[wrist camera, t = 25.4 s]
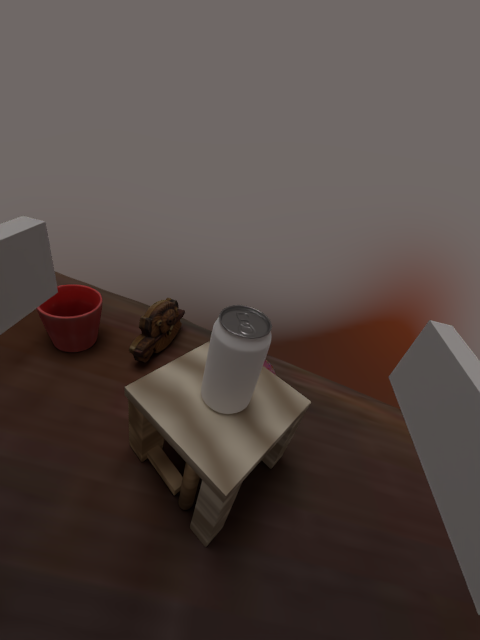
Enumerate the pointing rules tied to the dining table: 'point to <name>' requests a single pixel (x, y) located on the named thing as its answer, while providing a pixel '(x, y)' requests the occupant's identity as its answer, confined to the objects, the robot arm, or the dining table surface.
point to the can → (235, 358)
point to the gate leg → (160, 458)
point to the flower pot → (72, 317)
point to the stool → (217, 431)
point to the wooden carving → (157, 329)
